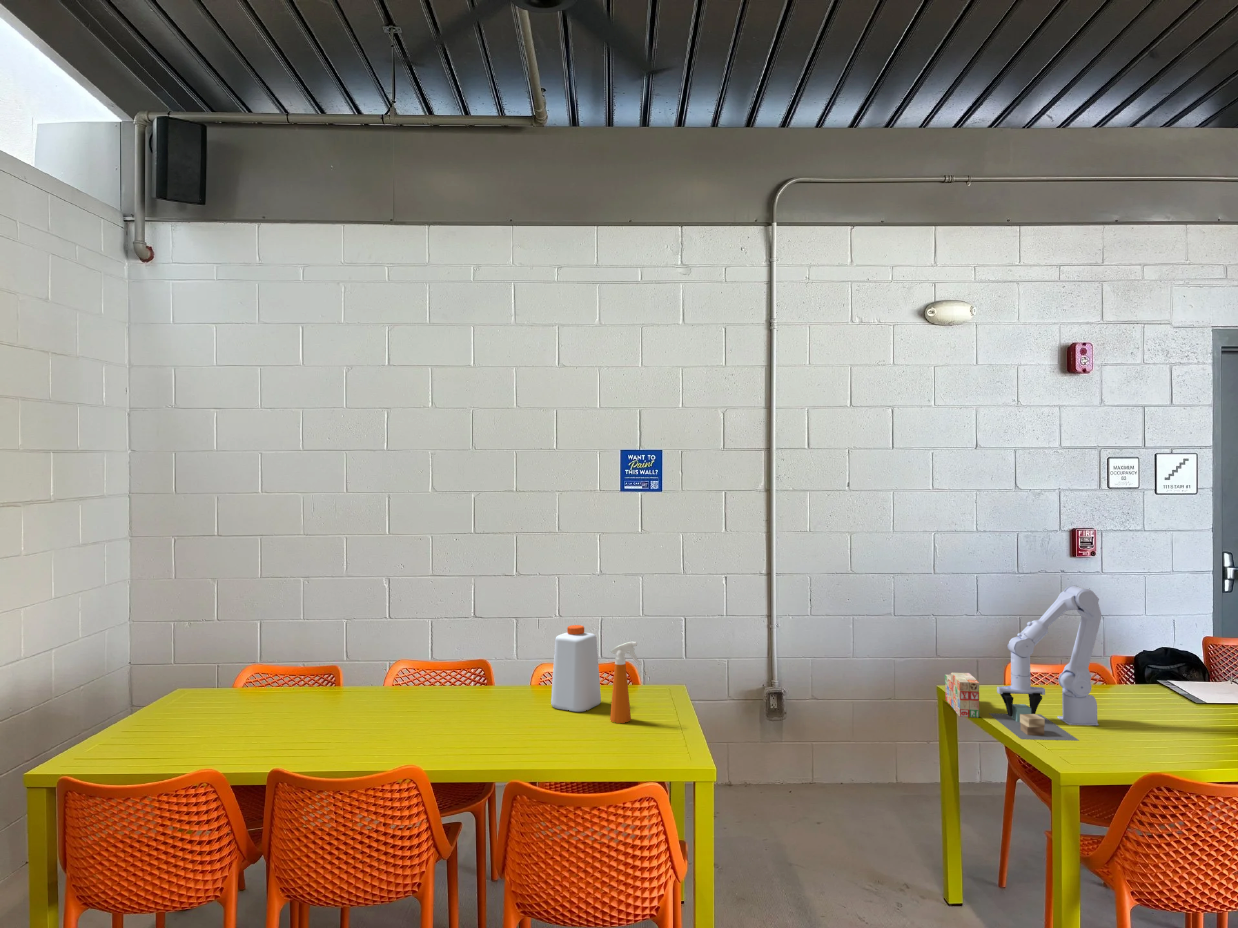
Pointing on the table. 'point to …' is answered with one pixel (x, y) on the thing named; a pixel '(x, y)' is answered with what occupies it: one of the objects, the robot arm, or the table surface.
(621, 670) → the spray bottle
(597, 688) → the plastic bottle
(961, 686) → the stack of blocks
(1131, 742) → the table surface
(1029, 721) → the oak slab
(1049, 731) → the rubber mat
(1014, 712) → the teal cube
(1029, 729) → the walnut slab
